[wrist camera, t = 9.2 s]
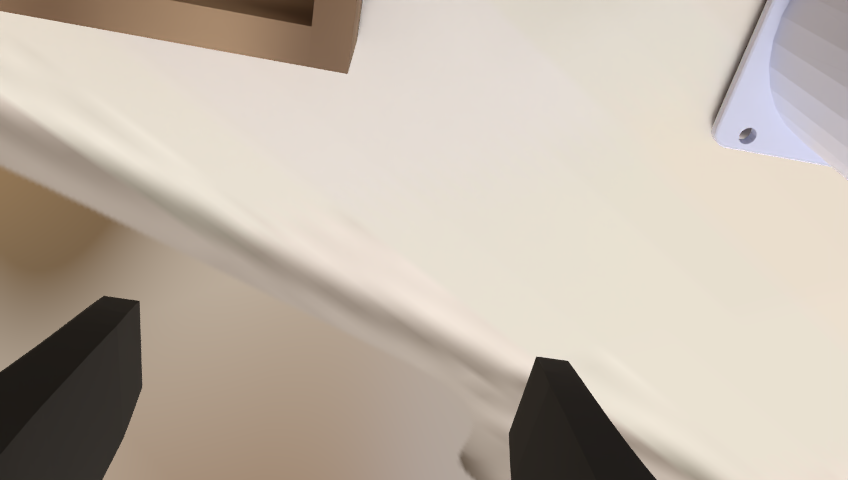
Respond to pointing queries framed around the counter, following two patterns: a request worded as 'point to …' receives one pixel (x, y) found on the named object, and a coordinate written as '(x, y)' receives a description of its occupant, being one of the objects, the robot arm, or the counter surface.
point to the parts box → (222, 25)
